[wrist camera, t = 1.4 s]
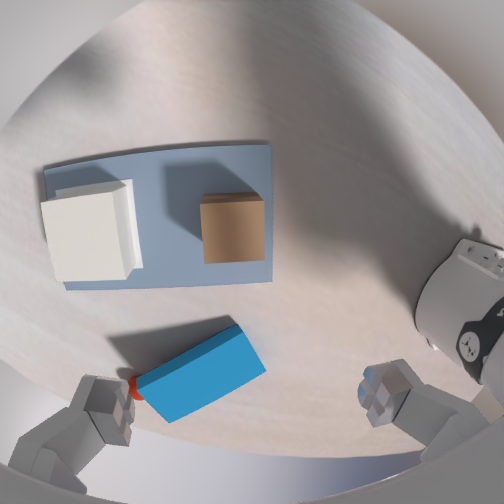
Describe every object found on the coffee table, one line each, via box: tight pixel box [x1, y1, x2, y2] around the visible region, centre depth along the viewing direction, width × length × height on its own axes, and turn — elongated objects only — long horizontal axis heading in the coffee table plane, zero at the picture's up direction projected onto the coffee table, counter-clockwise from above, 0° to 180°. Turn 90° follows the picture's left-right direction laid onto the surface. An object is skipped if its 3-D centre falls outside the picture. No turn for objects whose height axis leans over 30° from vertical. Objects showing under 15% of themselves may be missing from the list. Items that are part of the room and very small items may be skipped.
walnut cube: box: [200, 192, 265, 264], centre depth 25 cm, size 5×5×5 cm
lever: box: [128, 324, 266, 423], centre depth 34 cm, size 7×7×18 cm
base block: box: [41, 186, 137, 282], centre depth 25 cm, size 8×8×4 cm
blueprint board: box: [44, 145, 272, 290], centre depth 27 cm, size 24×14×1 cm, turn 91°
